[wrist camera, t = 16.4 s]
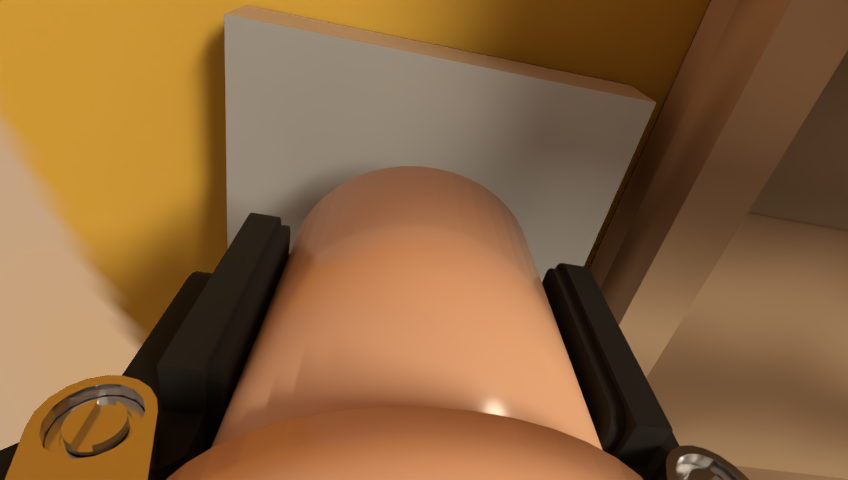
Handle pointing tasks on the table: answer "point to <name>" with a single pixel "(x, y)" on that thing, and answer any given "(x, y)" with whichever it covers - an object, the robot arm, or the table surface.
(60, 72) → the table surface
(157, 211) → the table surface
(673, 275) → the wooden frame crate
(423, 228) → the peach rounded knob
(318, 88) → the trivet
